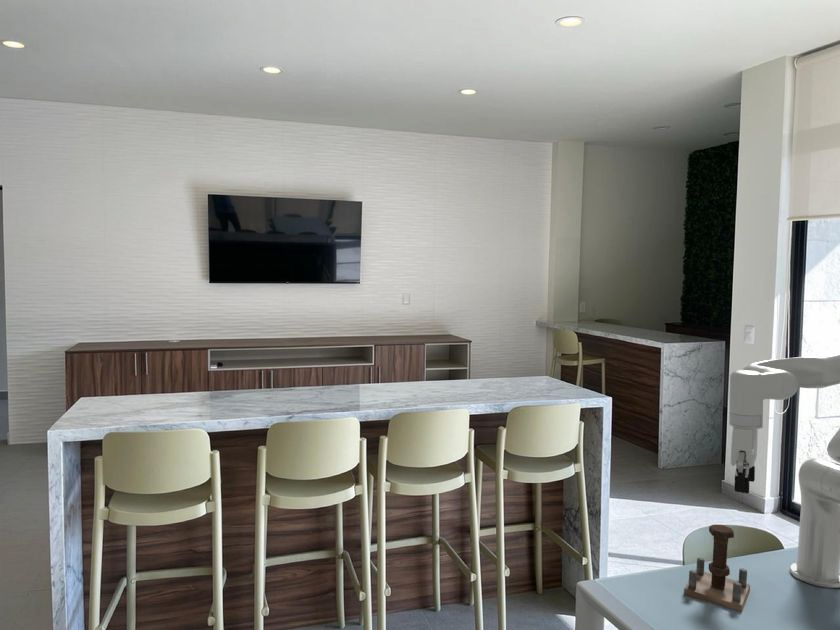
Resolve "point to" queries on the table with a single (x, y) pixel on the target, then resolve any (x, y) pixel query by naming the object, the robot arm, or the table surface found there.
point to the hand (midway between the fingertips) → (744, 486)
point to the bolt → (720, 554)
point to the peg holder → (727, 596)
